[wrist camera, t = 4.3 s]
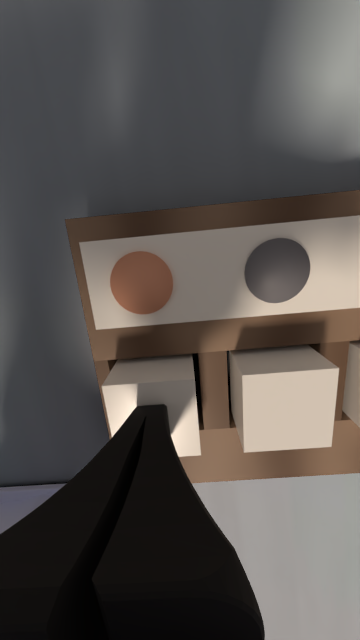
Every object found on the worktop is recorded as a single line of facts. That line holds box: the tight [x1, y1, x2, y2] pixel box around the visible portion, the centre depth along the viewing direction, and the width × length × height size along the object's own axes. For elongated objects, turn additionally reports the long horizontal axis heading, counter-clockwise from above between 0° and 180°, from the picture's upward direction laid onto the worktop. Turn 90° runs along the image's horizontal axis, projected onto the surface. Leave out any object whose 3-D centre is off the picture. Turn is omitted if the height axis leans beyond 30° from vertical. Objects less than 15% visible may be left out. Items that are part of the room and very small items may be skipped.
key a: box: [102, 353, 201, 457], centre depth 12 cm, size 4×4×3 cm
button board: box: [65, 190, 360, 483], centre depth 13 cm, size 18×15×2 cm
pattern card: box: [79, 215, 360, 330], centre depth 11 cm, size 17×4×1 cm, turn 95°
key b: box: [229, 344, 339, 453], centre depth 12 cm, size 4×4×3 cm
